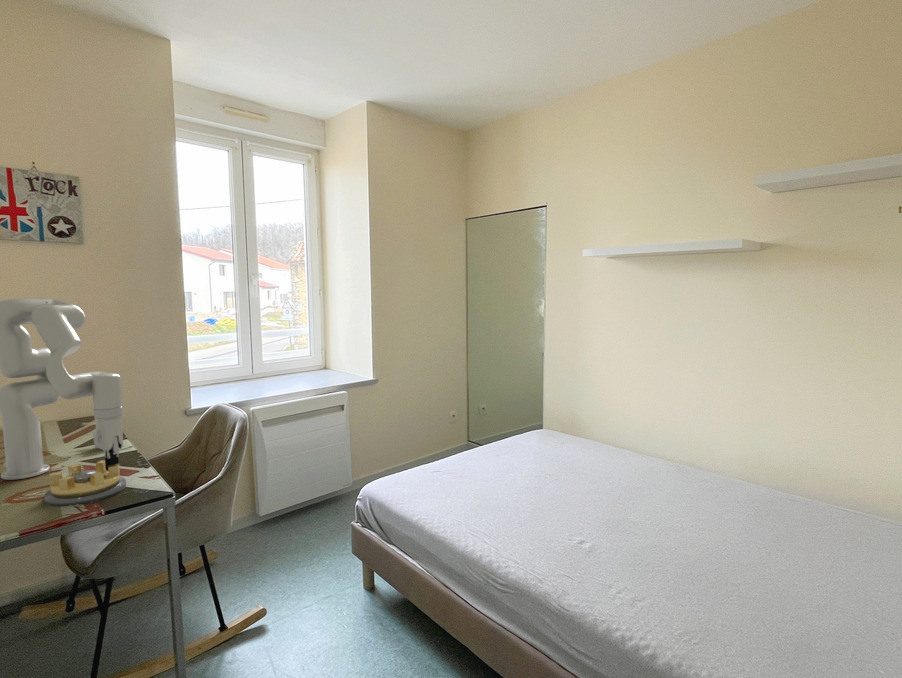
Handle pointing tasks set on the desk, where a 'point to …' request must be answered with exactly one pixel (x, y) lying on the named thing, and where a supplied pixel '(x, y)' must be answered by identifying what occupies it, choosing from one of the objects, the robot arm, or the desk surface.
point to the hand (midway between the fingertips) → (112, 469)
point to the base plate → (85, 499)
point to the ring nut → (84, 481)
